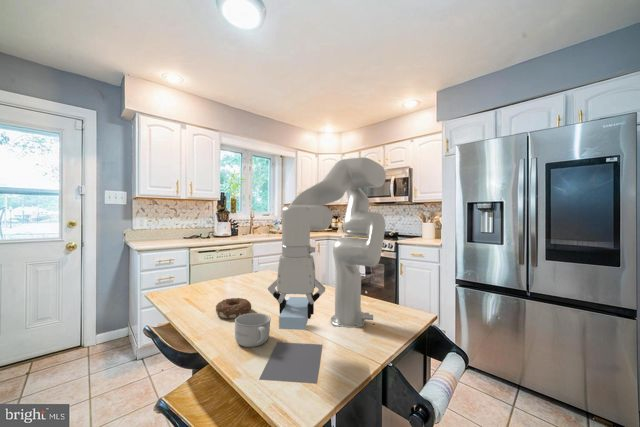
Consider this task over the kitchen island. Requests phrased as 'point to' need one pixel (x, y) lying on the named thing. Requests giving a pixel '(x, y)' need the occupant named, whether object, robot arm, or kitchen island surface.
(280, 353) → the mat
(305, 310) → the light blue block
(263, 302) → the kitchen island surface
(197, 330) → the kitchen island surface
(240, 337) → the teacup
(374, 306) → the kitchen island surface
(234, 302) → the donut
